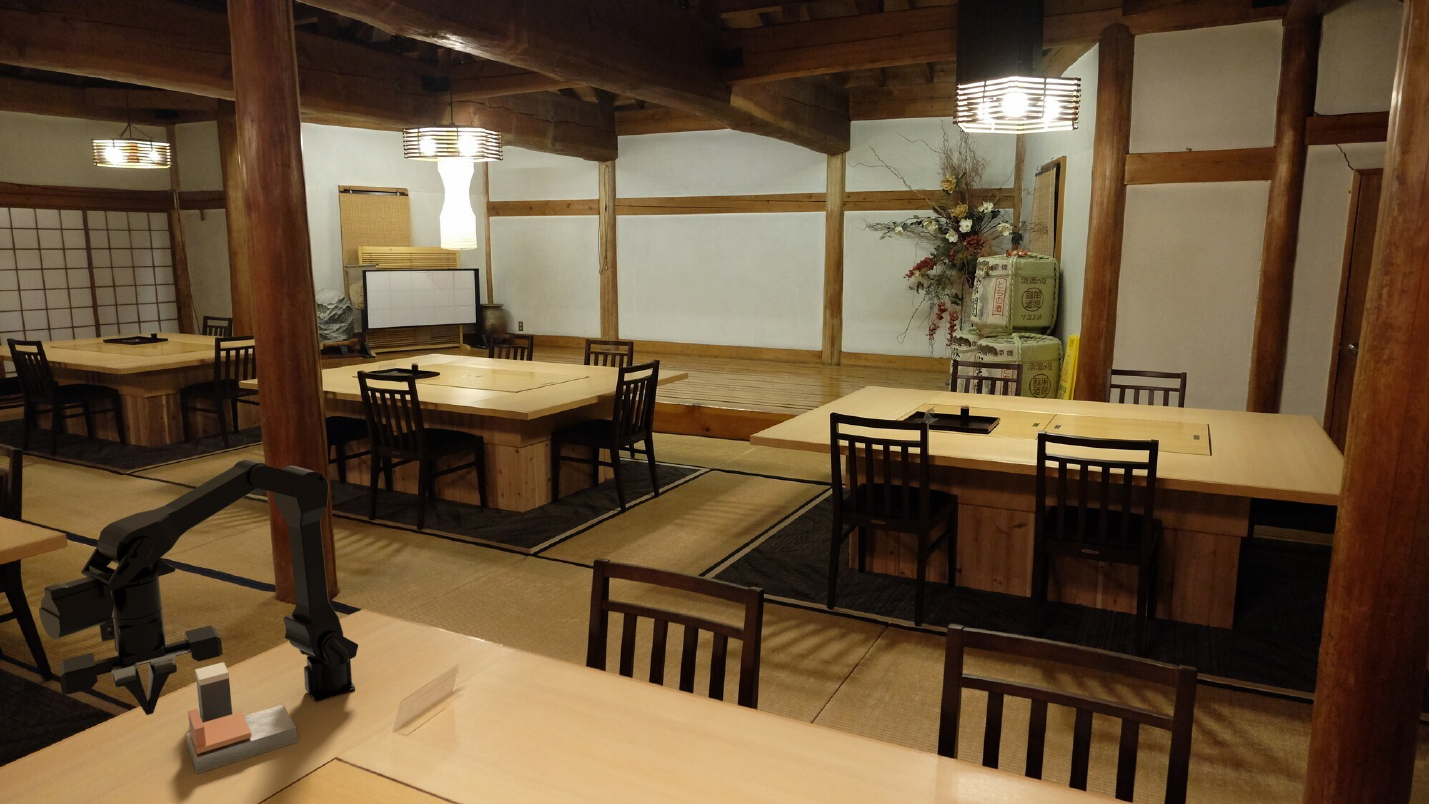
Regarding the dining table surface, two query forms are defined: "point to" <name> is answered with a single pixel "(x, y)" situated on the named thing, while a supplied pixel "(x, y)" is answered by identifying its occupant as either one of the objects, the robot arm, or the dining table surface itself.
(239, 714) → the salmon l-shaped block
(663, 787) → the dining table surface
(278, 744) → the grey rectangular box
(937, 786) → the dining table surface
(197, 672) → the plug
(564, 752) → the dining table surface
